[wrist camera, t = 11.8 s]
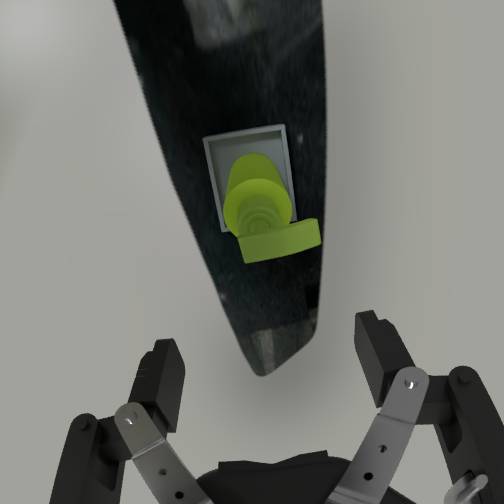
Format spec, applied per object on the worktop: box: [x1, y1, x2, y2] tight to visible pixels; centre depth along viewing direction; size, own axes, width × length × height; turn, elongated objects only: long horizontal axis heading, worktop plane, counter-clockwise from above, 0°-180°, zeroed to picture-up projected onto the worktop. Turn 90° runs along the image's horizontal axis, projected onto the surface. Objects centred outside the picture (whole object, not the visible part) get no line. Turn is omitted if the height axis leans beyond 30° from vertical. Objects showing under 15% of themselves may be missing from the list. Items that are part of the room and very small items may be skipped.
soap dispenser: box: [223, 153, 321, 263], centre depth 30 cm, size 6×7×20 cm
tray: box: [203, 124, 297, 232], centre depth 39 cm, size 12×10×2 cm
